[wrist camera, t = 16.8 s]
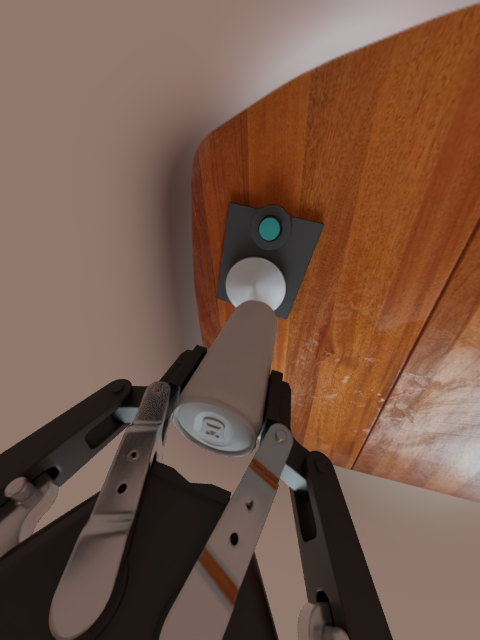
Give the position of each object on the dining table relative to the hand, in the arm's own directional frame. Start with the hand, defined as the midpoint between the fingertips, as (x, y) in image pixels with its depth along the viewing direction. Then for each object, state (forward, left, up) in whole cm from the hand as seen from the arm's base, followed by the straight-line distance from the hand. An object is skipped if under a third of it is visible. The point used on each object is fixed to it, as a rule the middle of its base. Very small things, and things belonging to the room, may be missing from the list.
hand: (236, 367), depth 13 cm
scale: (-1, -2, -23) cm, 23 cm away
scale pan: (+1, -2, -20) cm, 20 cm away
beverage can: (0, 0, -8) cm, 8 cm away
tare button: (-7, -2, -20) cm, 22 cm away
